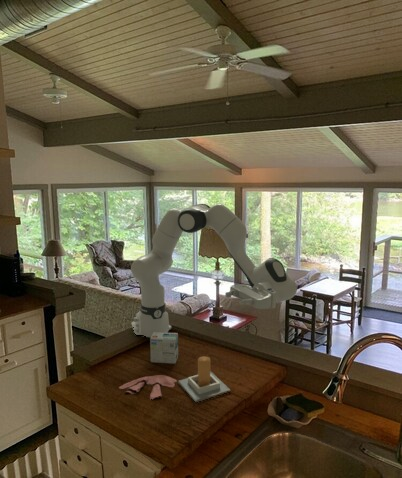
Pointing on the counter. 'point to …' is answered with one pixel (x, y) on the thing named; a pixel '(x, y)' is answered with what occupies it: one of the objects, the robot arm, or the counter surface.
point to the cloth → (157, 379)
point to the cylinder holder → (206, 391)
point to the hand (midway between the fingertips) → (232, 298)
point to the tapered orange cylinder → (203, 371)
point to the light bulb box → (164, 347)
